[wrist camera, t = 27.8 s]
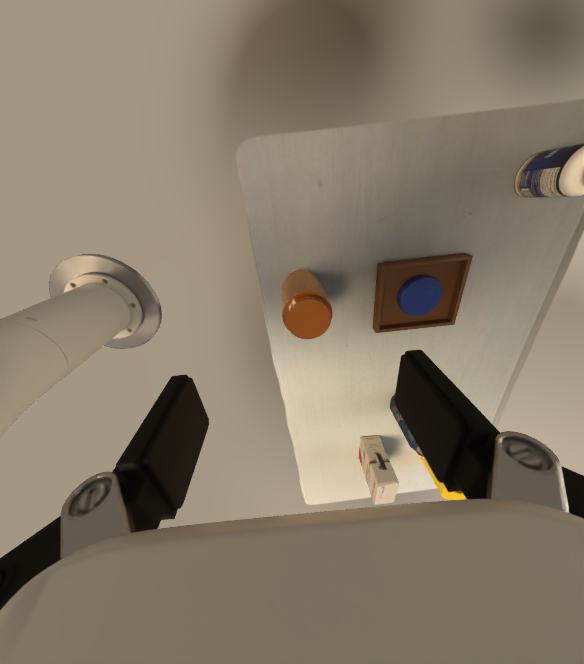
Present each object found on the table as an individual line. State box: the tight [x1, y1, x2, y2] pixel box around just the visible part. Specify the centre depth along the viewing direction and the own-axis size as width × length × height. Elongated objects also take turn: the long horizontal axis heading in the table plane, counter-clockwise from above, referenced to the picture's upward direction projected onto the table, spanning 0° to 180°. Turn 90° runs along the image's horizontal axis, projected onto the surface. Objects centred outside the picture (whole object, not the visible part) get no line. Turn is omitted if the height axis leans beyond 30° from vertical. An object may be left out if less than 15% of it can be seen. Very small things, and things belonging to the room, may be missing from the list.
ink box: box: [359, 436, 399, 505], centre depth 56 cm, size 8×5×12 cm, turn 5°
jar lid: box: [397, 275, 442, 316], centre depth 40 cm, size 7×7×2 cm
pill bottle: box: [515, 144, 584, 197], centre depth 29 cm, size 5×5×10 cm
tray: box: [373, 253, 473, 333], centre depth 40 cm, size 14×12×2 cm
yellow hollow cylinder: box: [421, 456, 467, 500], centre depth 60 cm, size 10×10×9 cm
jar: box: [282, 270, 332, 339], centre depth 35 cm, size 7×7×12 cm
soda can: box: [390, 395, 423, 456], centre depth 48 cm, size 7×7×12 cm
